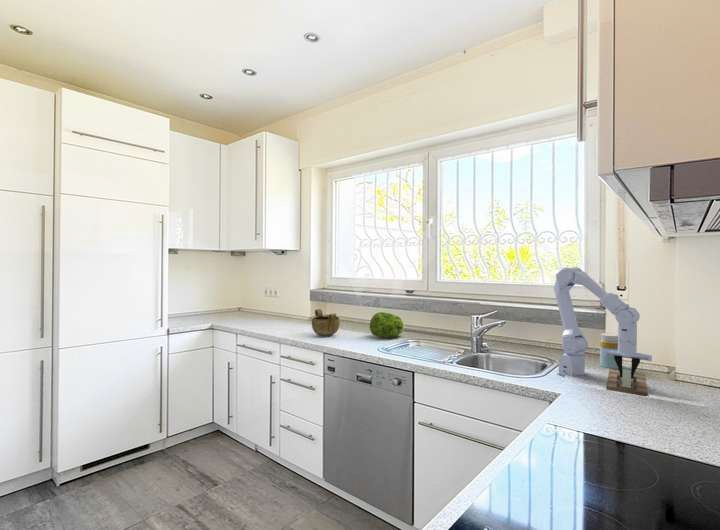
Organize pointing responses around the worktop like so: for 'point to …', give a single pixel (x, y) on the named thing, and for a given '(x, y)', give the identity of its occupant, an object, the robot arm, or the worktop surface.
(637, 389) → the hinge board
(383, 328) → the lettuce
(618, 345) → the robot arm
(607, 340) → the bottle
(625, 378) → the door panel
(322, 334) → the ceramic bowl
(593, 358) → the worktop surface
